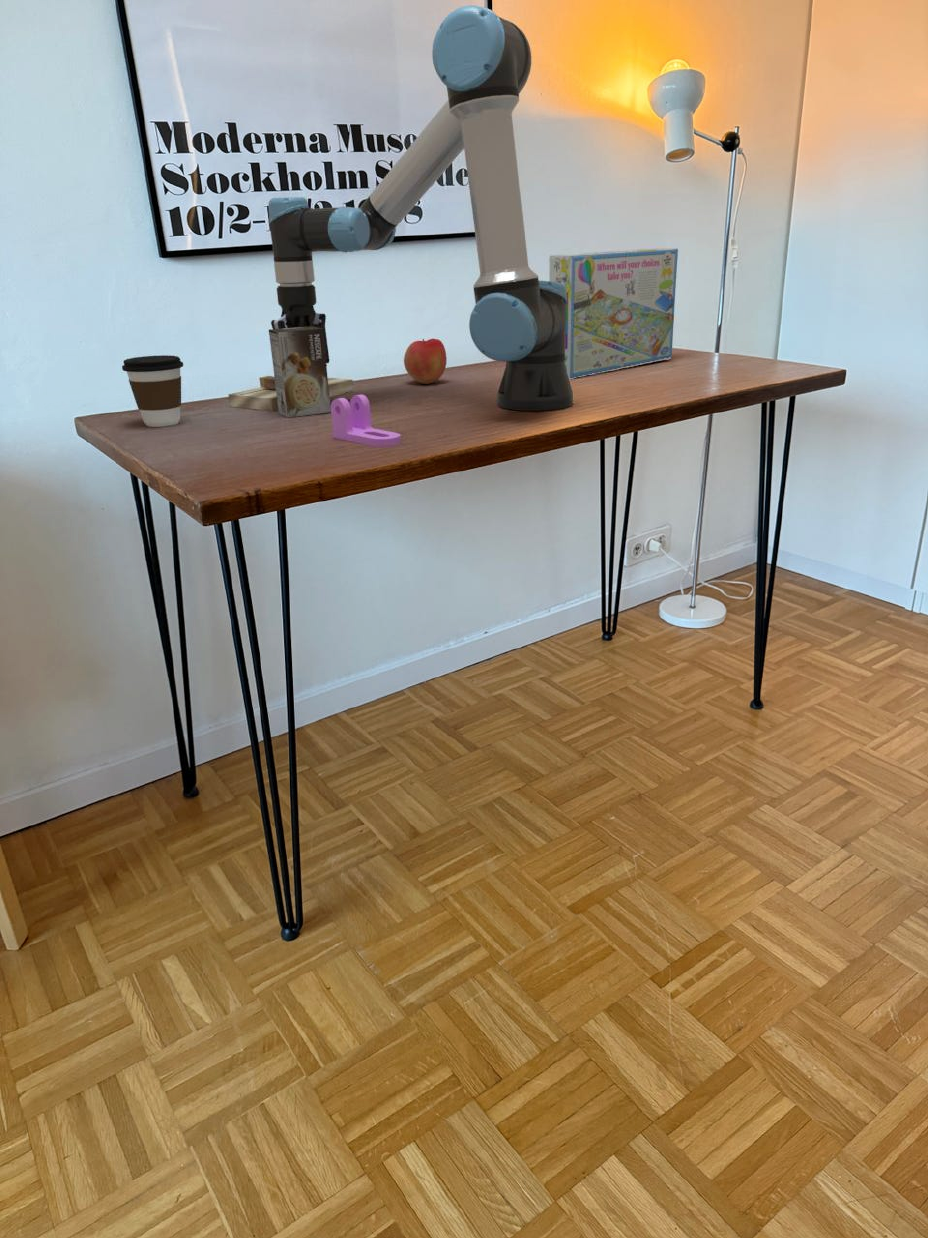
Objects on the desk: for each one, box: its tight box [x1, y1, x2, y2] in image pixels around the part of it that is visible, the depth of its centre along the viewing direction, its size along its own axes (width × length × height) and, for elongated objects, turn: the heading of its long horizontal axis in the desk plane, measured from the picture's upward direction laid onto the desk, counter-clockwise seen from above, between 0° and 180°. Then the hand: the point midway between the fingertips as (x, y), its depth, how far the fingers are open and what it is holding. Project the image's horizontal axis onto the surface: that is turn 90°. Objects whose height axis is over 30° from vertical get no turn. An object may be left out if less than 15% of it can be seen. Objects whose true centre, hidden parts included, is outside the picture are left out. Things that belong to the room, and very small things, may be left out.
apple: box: [403, 338, 447, 385], centre depth 200 cm, size 10×10×10 cm
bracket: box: [330, 394, 402, 448], centre depth 146 cm, size 13×6×7 cm, turn 46°
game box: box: [548, 247, 679, 378], centre depth 210 cm, size 40×7×27 cm, turn 132°
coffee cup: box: [121, 354, 184, 428], centre depth 163 cm, size 11×11×12 cm
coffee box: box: [268, 326, 331, 419], centre depth 168 cm, size 9×6×16 cm
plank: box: [228, 377, 354, 412], centre depth 187 cm, size 12×26×3 cm, turn 148°
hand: (307, 402), depth 180 cm, fingers closed on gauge, 6 cm apart
